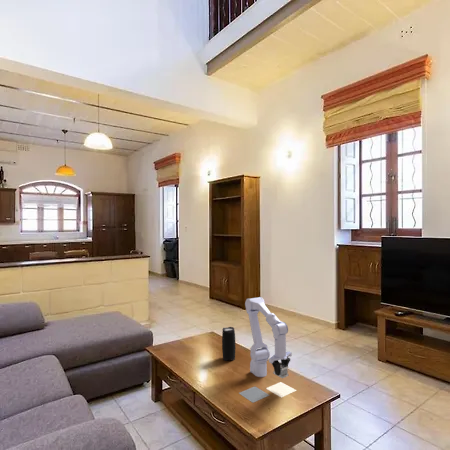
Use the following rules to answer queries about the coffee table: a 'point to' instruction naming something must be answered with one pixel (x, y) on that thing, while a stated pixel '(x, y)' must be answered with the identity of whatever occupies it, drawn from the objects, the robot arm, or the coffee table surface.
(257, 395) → the stand
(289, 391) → the stand
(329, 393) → the coffee table surface
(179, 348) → the coffee table surface
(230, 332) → the portable speaker
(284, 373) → the block
